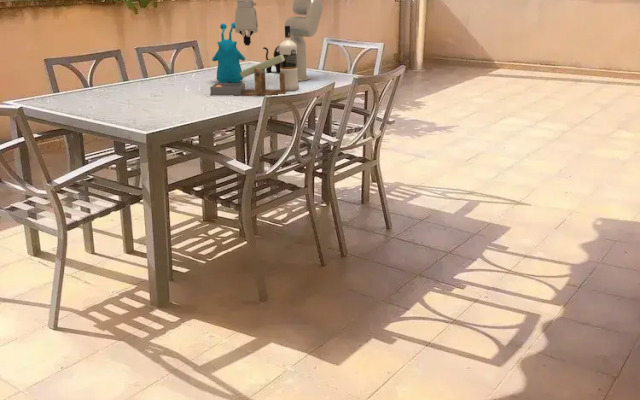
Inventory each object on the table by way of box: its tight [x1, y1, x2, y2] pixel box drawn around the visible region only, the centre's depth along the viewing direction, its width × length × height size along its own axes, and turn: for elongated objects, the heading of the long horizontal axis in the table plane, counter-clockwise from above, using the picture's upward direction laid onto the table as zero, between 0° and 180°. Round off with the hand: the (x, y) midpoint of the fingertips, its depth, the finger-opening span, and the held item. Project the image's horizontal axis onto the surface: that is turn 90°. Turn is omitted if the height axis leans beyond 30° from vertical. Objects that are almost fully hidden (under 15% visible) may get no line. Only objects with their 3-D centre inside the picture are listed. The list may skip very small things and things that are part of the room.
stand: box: [241, 68, 288, 97], centre depth 321 cm, size 20×11×12 cm, turn 84°
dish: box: [210, 82, 246, 97], centre depth 324 cm, size 10×14×4 cm
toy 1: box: [211, 21, 246, 83], centre depth 351 cm, size 17×18×30 cm
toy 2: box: [262, 45, 281, 74], centre depth 378 cm, size 8×14×15 cm, turn 69°
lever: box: [240, 54, 285, 79], centre depth 324 cm, size 22×16×4 cm
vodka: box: [278, 25, 300, 92], centre depth 327 cm, size 9×9×30 cm
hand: (247, 45), depth 326 cm, fingers closed
